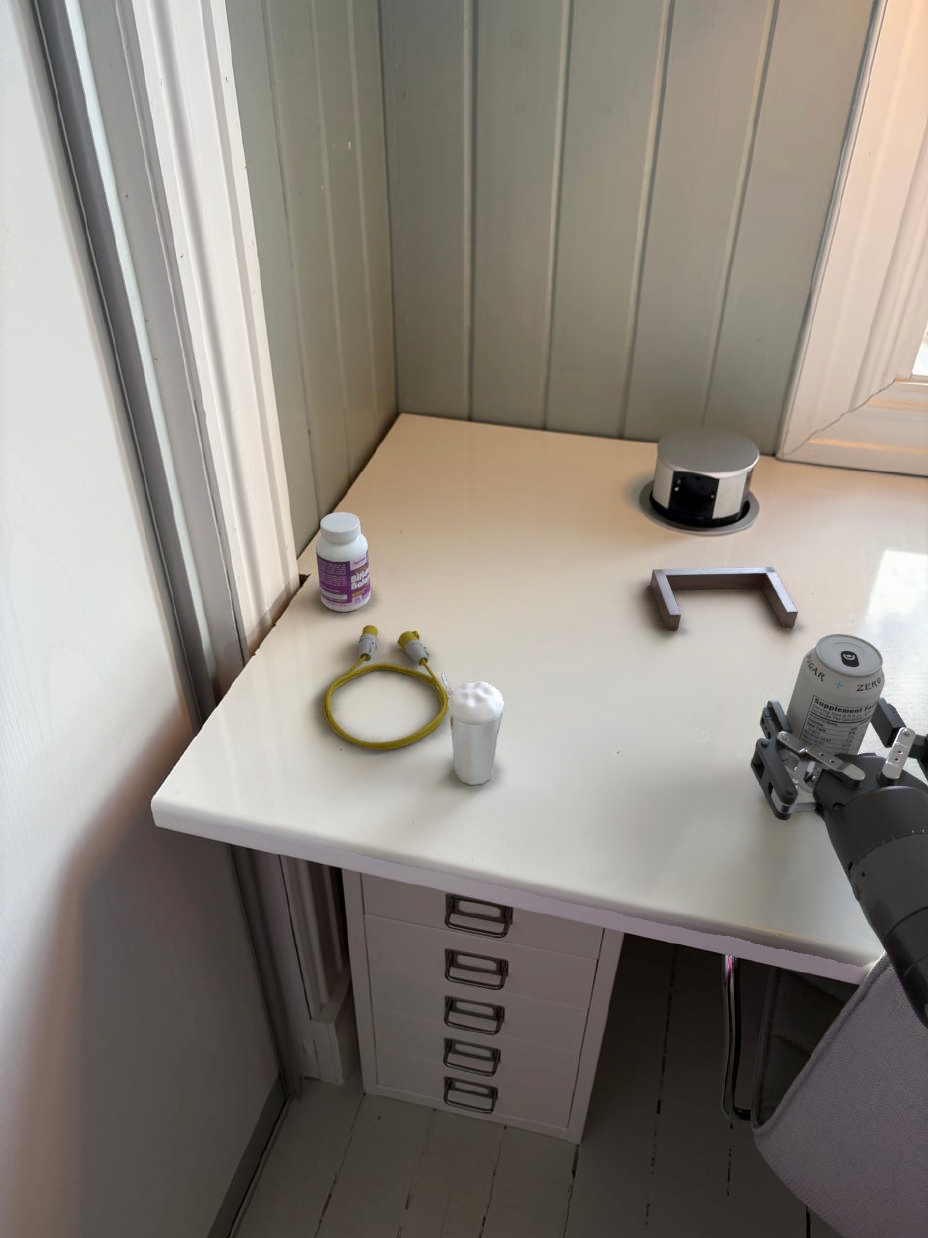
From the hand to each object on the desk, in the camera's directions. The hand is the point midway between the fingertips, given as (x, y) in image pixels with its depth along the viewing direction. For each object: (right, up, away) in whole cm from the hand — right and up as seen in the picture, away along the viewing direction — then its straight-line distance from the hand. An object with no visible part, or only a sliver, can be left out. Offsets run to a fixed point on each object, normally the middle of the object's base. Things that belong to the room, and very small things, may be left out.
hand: (821, 706), depth 74 cm
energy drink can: (0, -8, +4) cm, 9 cm away
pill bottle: (-41, +9, +25) cm, 49 cm away
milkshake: (-28, -6, +6) cm, 29 cm away
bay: (-1, +9, +25) cm, 26 cm away
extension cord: (-36, 0, +13) cm, 38 cm away
